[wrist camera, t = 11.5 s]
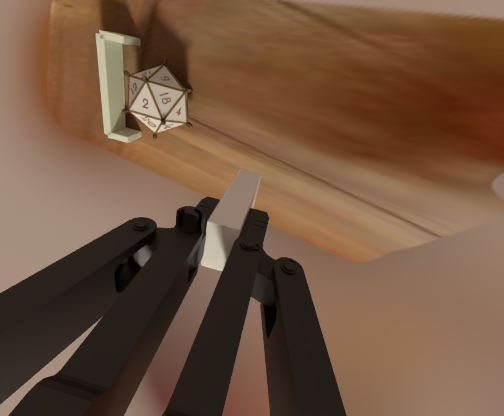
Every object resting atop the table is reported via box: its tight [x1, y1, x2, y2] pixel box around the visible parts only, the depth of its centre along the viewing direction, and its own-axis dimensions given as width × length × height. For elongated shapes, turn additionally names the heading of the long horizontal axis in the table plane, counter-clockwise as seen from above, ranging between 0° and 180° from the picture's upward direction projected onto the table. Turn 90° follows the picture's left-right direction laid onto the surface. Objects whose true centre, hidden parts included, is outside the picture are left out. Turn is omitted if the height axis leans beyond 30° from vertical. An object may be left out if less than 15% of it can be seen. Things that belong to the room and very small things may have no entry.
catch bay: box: [96, 30, 141, 143], centre depth 35 cm, size 4×13×4 cm, turn 168°
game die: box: [121, 57, 193, 140], centre depth 32 cm, size 9×8×10 cm
